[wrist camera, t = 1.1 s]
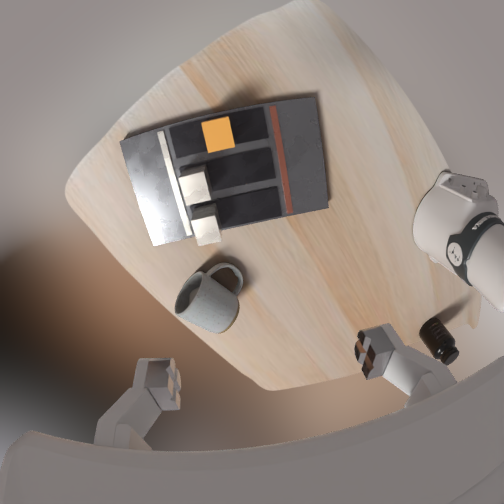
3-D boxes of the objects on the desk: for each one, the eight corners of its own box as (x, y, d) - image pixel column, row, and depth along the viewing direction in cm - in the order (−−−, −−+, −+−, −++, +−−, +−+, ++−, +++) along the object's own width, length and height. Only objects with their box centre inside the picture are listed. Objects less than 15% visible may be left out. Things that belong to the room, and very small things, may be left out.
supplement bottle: (436, 330, 61) (458, 361, 50) (416, 340, 61) (437, 373, 51) (440, 313, 57) (465, 344, 47) (420, 323, 58) (444, 357, 47)
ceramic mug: (214, 315, 49) (215, 346, 42) (176, 292, 46) (170, 323, 39) (254, 276, 46) (260, 305, 39) (214, 248, 43) (214, 275, 36)
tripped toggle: (227, 116, 31) (228, 116, 27) (233, 142, 33) (235, 146, 29) (203, 121, 31) (201, 123, 27) (209, 147, 33) (208, 153, 29)
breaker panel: (311, 97, 33) (328, 95, 27) (325, 204, 41) (341, 221, 35) (123, 139, 33) (105, 146, 27) (155, 241, 41) (146, 263, 35)
